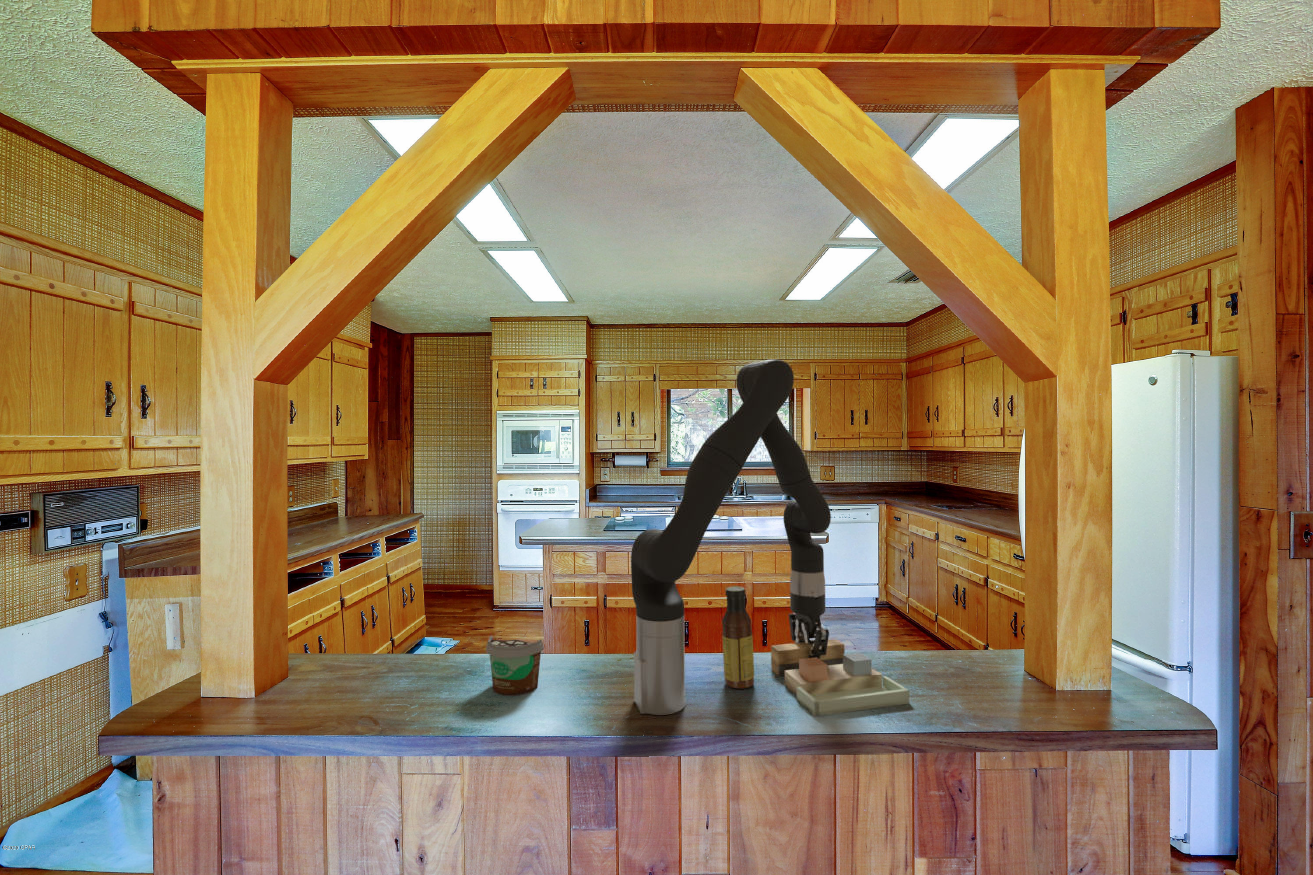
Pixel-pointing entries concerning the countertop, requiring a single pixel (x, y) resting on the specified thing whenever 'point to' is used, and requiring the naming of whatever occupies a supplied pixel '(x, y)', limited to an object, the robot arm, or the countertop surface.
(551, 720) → the countertop surface
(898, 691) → the tray
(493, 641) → the food container
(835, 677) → the board
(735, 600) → the sauce bottle
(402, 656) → the countertop surface
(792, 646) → the brown and black bar
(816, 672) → the salmon pink block
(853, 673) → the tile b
